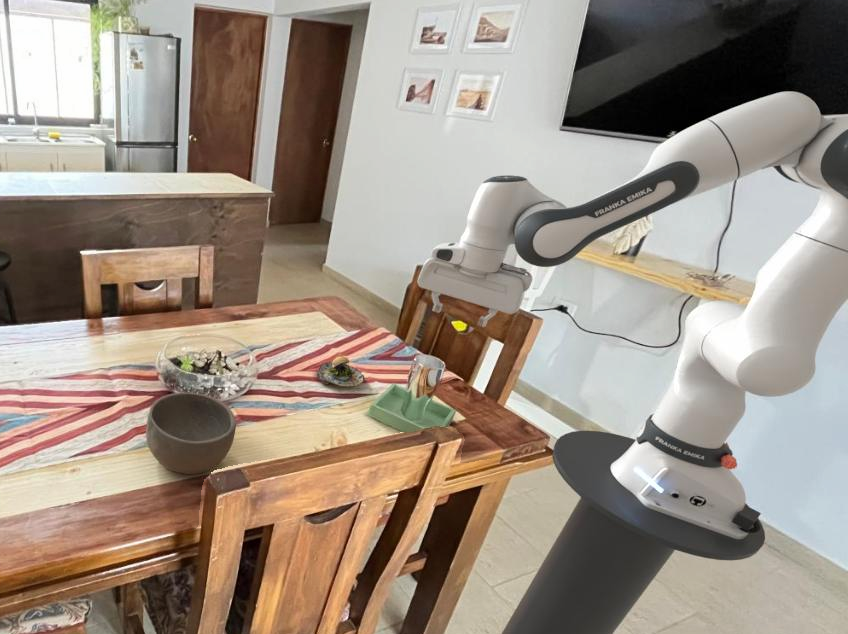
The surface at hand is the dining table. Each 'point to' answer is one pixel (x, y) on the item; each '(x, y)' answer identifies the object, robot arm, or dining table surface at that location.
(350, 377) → the burger
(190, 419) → the bowl
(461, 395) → the dining table surface
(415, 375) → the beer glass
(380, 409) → the serving tray
